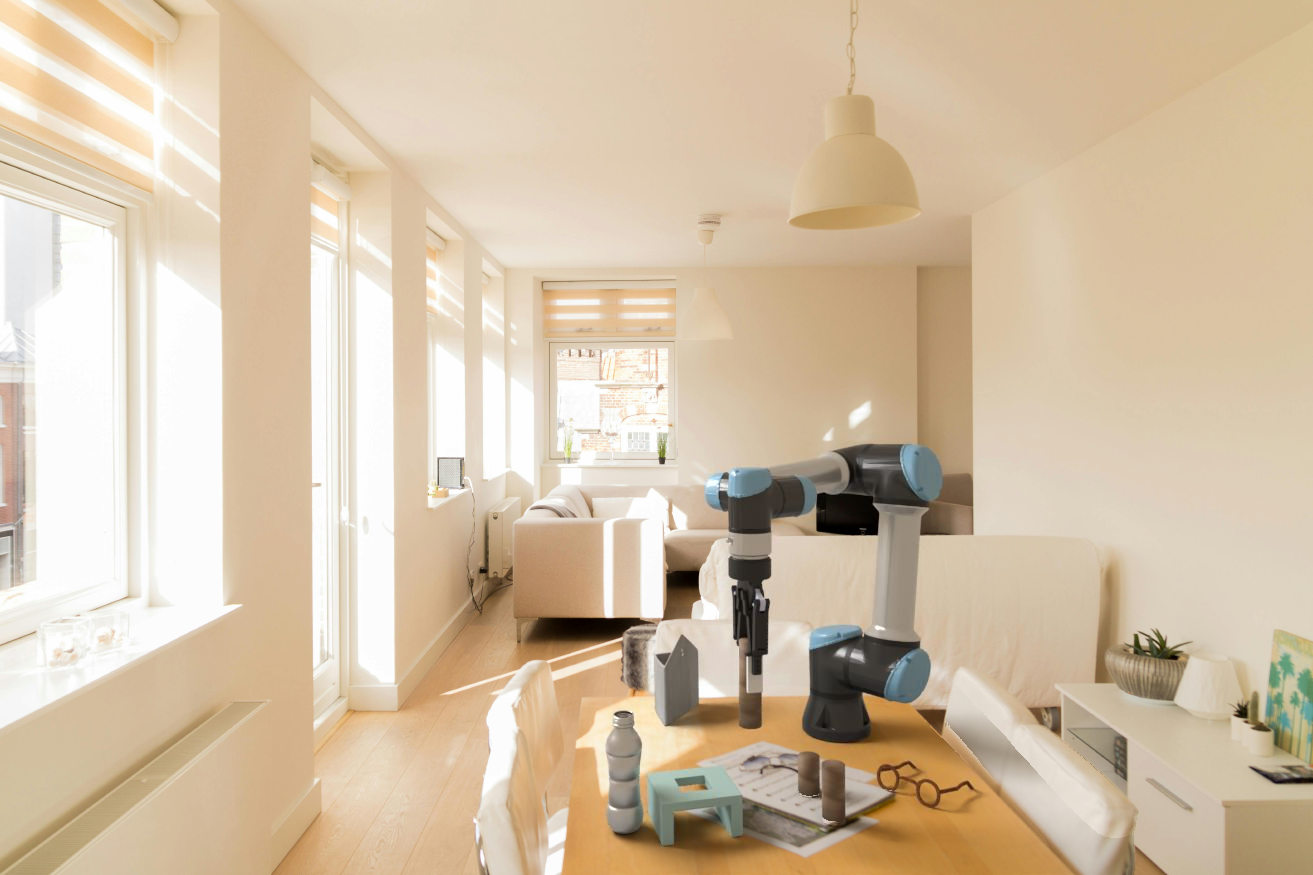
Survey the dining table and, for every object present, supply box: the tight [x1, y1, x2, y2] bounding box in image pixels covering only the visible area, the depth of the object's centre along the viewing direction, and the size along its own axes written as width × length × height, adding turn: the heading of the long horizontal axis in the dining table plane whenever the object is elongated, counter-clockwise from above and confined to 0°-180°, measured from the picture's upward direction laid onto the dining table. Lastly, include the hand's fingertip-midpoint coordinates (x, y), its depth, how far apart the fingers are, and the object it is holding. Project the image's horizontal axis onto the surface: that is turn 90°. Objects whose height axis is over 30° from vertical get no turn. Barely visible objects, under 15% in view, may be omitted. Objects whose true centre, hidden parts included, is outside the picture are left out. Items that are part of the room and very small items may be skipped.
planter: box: [653, 633, 700, 727], centre depth 195 cm, size 16×8×19 cm, turn 149°
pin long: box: [738, 637, 763, 730], centre depth 143 cm, size 4×4×15 cm
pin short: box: [797, 750, 821, 796], centre depth 153 cm, size 4×4×7 cm
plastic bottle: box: [605, 710, 645, 835], centre depth 140 cm, size 6×7×20 cm
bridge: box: [646, 764, 744, 847], centre depth 142 cm, size 14×12×7 cm
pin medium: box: [821, 759, 847, 828], centre depth 142 cm, size 4×4×10 cm
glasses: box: [876, 760, 974, 808], centre depth 154 cm, size 13×13×5 cm
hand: (750, 687), depth 143 cm, fingers closed on pin long, 4 cm apart
